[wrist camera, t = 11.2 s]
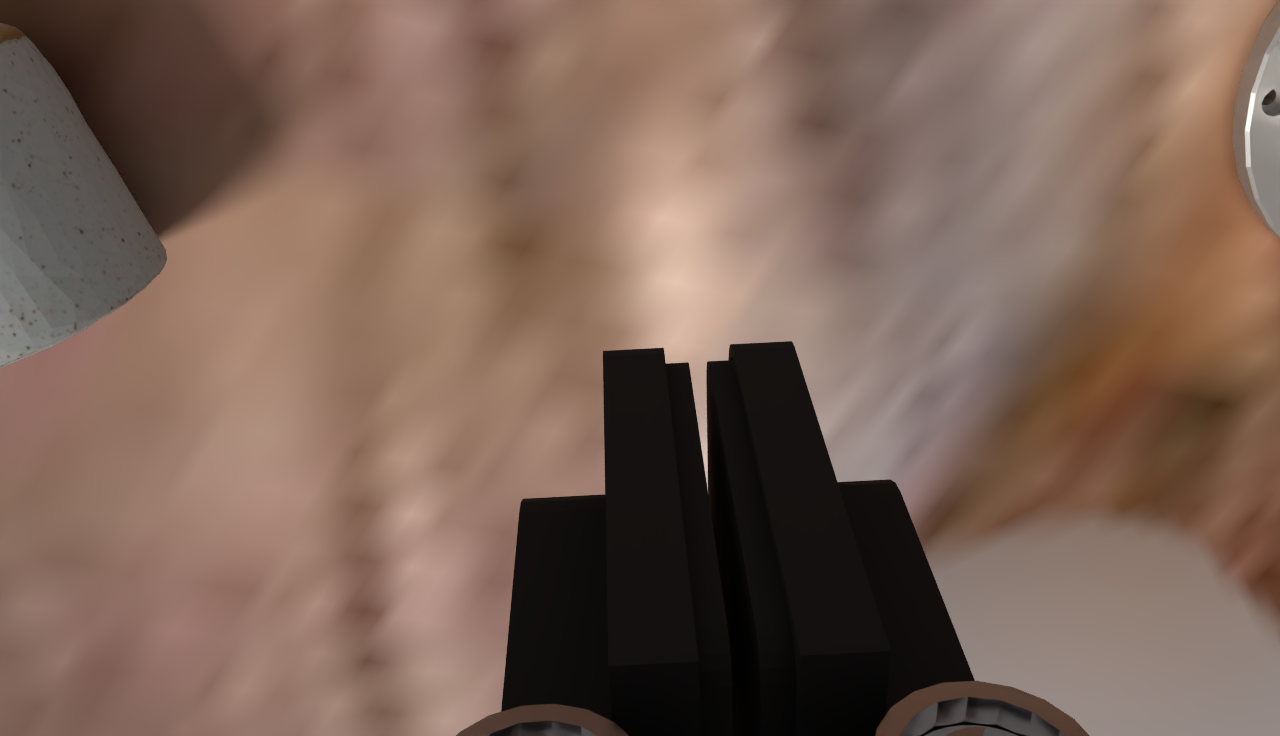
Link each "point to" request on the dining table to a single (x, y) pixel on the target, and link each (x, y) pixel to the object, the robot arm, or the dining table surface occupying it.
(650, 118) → the dining table surface
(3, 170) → the ceramic mug
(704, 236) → the dining table surface
